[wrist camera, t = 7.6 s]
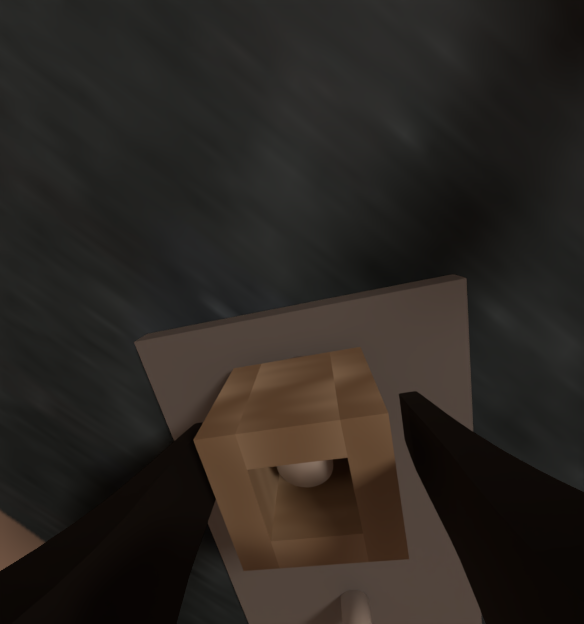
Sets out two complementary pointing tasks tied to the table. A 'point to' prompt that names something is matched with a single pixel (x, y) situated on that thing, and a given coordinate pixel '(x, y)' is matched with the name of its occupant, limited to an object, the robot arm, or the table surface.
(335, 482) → the ash collar
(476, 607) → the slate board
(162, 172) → the table surface
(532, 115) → the table surface
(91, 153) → the table surface
